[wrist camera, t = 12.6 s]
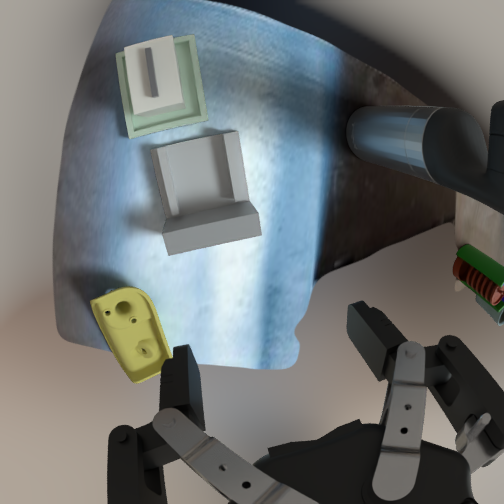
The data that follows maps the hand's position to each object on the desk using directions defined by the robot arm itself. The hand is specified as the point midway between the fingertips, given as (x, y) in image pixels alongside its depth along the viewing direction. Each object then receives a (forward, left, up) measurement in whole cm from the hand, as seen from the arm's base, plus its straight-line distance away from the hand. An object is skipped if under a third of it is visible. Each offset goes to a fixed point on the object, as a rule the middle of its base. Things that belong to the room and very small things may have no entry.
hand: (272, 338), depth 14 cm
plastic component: (+19, +18, -31) cm, 40 cm away
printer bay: (+2, -3, -30) cm, 30 cm away
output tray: (+5, -17, -30) cm, 35 cm away
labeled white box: (+5, -17, -29) cm, 34 cm away
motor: (-55, +25, -30) cm, 68 cm away
